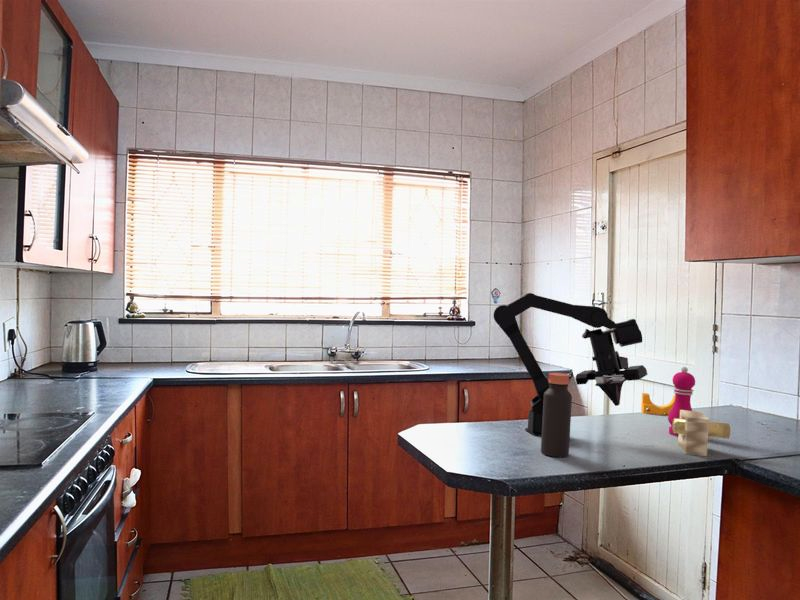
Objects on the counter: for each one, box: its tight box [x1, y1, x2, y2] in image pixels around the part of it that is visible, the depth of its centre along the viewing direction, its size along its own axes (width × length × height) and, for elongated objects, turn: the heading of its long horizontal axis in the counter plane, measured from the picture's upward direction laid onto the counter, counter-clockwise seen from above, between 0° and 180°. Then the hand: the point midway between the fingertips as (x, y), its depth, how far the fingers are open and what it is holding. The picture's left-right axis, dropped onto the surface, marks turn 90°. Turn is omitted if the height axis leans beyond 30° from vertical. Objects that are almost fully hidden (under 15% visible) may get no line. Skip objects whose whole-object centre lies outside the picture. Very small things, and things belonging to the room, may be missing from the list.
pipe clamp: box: [640, 392, 675, 416], centre depth 197 cm, size 12×4×6 cm, turn 76°
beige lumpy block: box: [677, 410, 710, 457], centre depth 153 cm, size 5×10×10 cm, turn 164°
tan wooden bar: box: [673, 418, 731, 440], centre depth 152 cm, size 13×4×4 cm, turn 74°
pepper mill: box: [667, 366, 696, 437], centre depth 169 cm, size 7×7×20 cm
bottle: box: [540, 372, 573, 458], centre depth 143 cm, size 7×7×20 cm
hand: (617, 405), depth 160 cm, fingers closed
